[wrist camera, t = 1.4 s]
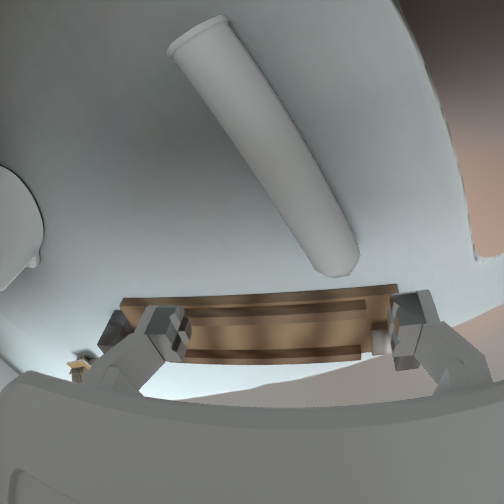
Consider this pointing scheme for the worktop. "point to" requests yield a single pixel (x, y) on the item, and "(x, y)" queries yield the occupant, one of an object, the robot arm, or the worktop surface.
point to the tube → (267, 142)
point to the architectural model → (80, 368)
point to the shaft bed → (275, 326)
